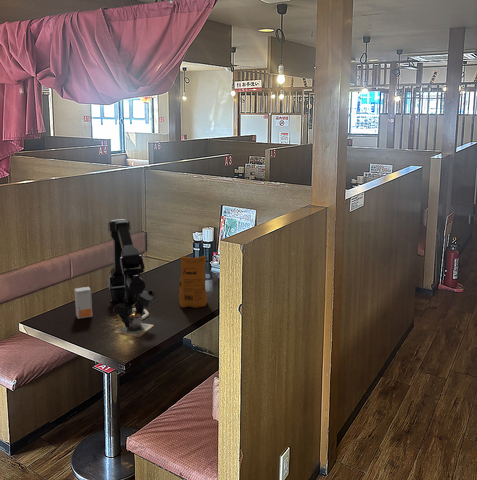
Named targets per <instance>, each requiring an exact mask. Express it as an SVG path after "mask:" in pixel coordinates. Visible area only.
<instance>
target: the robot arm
mask: <svg viewBox="0 0 477 480" xmlns="http://www.w3.org/2000/svg"><path fill="white" fill-rule="evenodd" d="M107 230H108V232H109V234H110V237H111V238H112V240H113V267H112V269H111V270H110V272H109V277H108V281H107V287H108V289H109V291H110V295H111V299H110V300H109V303H115V304H116V305H114V306H113V308H112V309H113V314H116V315H117V316H118V317H119V318H120V320H121V321H122V323H123V325H125V326H126V327H127V328H129V324H130V315H131V314H132V313H133V312H134V311H133V312H132V310H133V309H134V308H136V311H135V312H138V313H140V314H141V318H142V316H143V315H144V312H143V311H144V309H145V308H149V307H150V306H152V305H153V303H154V300H156V291H155V290H154V289H150V290H148V291H147V290H145V288H146V283H145V281H144V280H143V278H142V276H141V274H142V273H145V263H144V258H143V257H142V255H141V254H140V252H139V250H138V249H137V247H135V246H134V243H133V239H132V236H131V221H130V220H127V219H126V218H122V219H110V221H108V223H107ZM125 302H126V303H125ZM133 307H134V308H133Z"/></svg>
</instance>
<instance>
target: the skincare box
mask: <svg viewBox="0 0 477 480" xmlns="http://www.w3.org/2000/svg"><path fill="white" fill-rule="evenodd" d="M73 291H74V301H75V302H74V305H75V306H74V307H75V316H76V318H77V319H78V320H79V319H85V318H92V317H93V303H92V289H91V288H90V286H83V287H77V288H74V290H73Z"/></svg>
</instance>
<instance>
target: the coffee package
mask: <svg viewBox="0 0 477 480" xmlns="http://www.w3.org/2000/svg"><path fill="white" fill-rule="evenodd" d="M206 262H207V257H206V255H203V256H198V257H188V256H182V255H181V261H180V265H181V266H180V272H181V273H180V281H179V286H178V299H179V306H180V308H187V307H189V308H195V309H196V308H202V307H203V308H204V307H206V306H207V303H208V296H207V295H208V294H207V289H206V279H207V277H206Z"/></svg>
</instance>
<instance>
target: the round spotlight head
mask: <svg viewBox="0 0 477 480" xmlns="http://www.w3.org/2000/svg"><path fill="white" fill-rule="evenodd" d="M141 323H142V320H141V314H140V313H138V312H137V311H133V313H132V314H131V315H130V324H129V328H127V330H128V331H138V330H140V329H141V330H142V329H143V327H142V325H141ZM125 327H126V326H125Z"/></svg>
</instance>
